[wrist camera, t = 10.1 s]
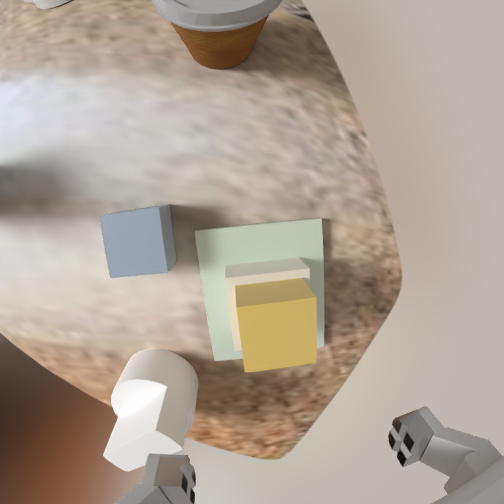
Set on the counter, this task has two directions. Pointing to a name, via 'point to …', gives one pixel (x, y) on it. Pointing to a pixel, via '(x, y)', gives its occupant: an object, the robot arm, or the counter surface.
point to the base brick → (258, 274)
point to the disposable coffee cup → (217, 27)
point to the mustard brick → (277, 324)
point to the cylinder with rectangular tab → (151, 407)
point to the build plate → (255, 250)
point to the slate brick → (139, 241)
